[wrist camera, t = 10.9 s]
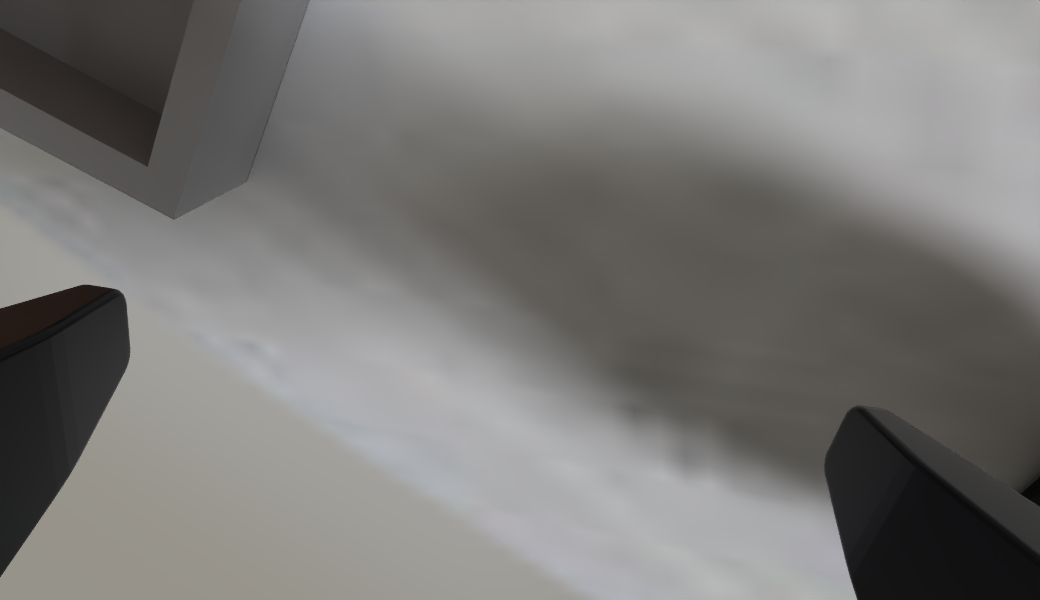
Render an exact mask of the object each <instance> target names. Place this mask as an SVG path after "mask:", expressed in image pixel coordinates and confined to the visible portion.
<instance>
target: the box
mask: <svg viewBox="0 0 1040 600" xmlns="http://www.w3.org/2000/svg"><path fill="white" fill-rule="evenodd" d="M308 2H309V0H0V128H2V129H4V130H6V131H8V132H10V133H12V134H13V135H15V136H17V137H19V138H21V139H23V140H25V141H27V142H29V143H30V144H32V145H34V146H36V147H38V148H40V149H42V150H44V151H46V152H47V153H49V154H51V155H53V156H55V157H57V158H59V159H61V160H63V161H64V162H66V163H68V164H70V165H72V166H74V167H76V168H78V169H80V170H81V171H83V172H85V173H87V174H89V175H91V176H93V177H95V178H96V179H98V180H100V181H102V182H104V183H106V184H108V185H110V186H112V187H113V188H115V189H117V190H119V191H121V192H123V193H125V194H127V195H129V196H130V197H132V198H134V199H136V200H138V201H140V202H142V203H144V204H146V205H147V206H149V207H151V208H153V209H155V210H157V211H159V212H161V213H163V214H164V215H166V216H168V217H170V218H172V219H176V218H178V217H180V216H182V215H183V214H185V213H187V212H189V211H191V210H193V209H195V208H197V207H199V206H201V205H203V204H204V203H206V202H208V201H210V200H212V199H214V198H216V197H218V196H220V195H222V194H224V193H225V192H227V191H229V190H231V189H233V188H235V187H237V186H239V185H241V184H243V183H245V182H246V181H247V178H248V175H249V172H250V169H251V167H252V164H253V161H254V158H255V155H256V152H257V149H258V146H259V144H260V141H261V138H262V135H263V132H264V129H265V126H266V123H267V121H268V118H269V115H270V112H271V109H272V106H273V103H274V100H275V98H276V95H277V92H278V89H279V86H280V83H281V80H282V77H283V74H284V72H285V69H286V66H287V63H288V60H289V57H290V54H291V51H292V49H293V46H294V43H295V40H296V37H297V34H298V31H299V28H300V26H301V23H302V20H303V17H304V14H305V11H306V8H307V5H308Z"/></svg>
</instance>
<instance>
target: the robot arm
mask: <svg viewBox="0 0 1040 600" xmlns="http://www.w3.org/2000/svg"><path fill="white" fill-rule="evenodd" d="M129 358H130V341H129V328H128V316H127V305H126V300H125V297H124V295H123V294H122V293H121V292H120V291H119V290H117V289H112V288H106V287H100V286H93V285H80V286H77V287H73V288H70V289H66V290H63V291H59V292H56V293H53V294H49V295H46V296H42V297H39V298H36V299H32V300H29V301H25V302H22V303H18V304H15V305H11V306H8V307H5V308H1V309H0V577H1V575H2V574H3V572H4V571H5V570H6V568H7V566H8V565H9V564H10V562H11V561H12V559H13V558H14V556H15V555H16V554H17V552H18V551H19V549H20V548H21V546H22V545H23V543H24V542H25V540H26V539H27V537H28V536H29V535H30V533H31V532H32V530H33V529H34V527H35V526H36V524H37V523H38V521H39V520H40V519H41V517H42V515H43V514H44V513H45V511H46V510H47V508H48V507H49V505H50V504H51V503H52V501H53V499H54V498H55V497H56V495H57V494H58V492H59V491H60V489H61V487H62V486H63V485H64V483H65V482H66V480H67V479H68V477H69V475H70V474H71V472H72V470H73V469H74V467H75V465H76V463H77V461H78V459H79V458H80V456H81V454H82V452H83V450H84V448H85V447H86V445H87V443H88V441H89V439H90V437H91V435H92V433H93V431H94V430H95V428H96V426H97V424H98V422H99V420H100V418H101V416H102V414H103V412H104V410H105V409H106V407H107V405H108V403H109V401H110V399H111V397H112V395H113V393H114V391H115V390H116V388H117V386H118V384H119V382H120V380H121V378H122V376H123V374H124V372H125V370H126V368H127V365H128V362H129ZM824 469H825V476H826V481H827V485H828V489H829V493H830V497H831V501H832V506H833V510H834V514H835V518H836V522H837V526H838V531H839V535H840V539H841V543H842V547H843V552H844V556H845V560H846V564H847V567H848V571H849V575H850V578H851V582H852V585H853V588H854V591H855V594H856V597H857V600H1040V478H1039V479H1037V480H1036V481H1035V482H1034V483H1033V484H1032V485H1031V486H1030V487H1029V488H1027V489H1026V490H1025V491H1024V492H1023V493H1022V494H1019V493H1017V492H1016V491H1014V490H1013V489H1011V488H1010V487H1008V486H1006V485H1005V484H1003V483H1002V482H1000V481H999V480H997V479H995V478H994V477H992V476H991V475H989V474H988V473H986V472H984V471H983V470H981V469H980V468H978V467H976V466H975V465H973V464H972V463H970V462H969V461H967V460H965V459H964V458H962V457H961V456H959V455H958V454H956V453H954V452H953V451H951V450H950V449H948V448H947V447H945V446H943V445H942V444H940V443H939V442H937V441H936V440H934V439H932V438H931V437H929V436H928V435H926V434H924V433H923V432H921V431H920V430H918V429H917V428H915V427H913V426H912V425H910V424H909V423H907V422H906V421H904V420H902V419H901V418H899V417H898V416H896V415H895V414H893V413H891V412H890V411H888V410H884V409H880V408H873V407H867V406H855V407H853V408H851V409H850V410H849V411H848V412H847V414H846V416H845V417H844V419H843V421H842V423H841V425H840V428H839V430H838V432H837V434H836V436H835V438H834V440H833V442H832V444H831V446H830V448H829V450H828V452H827V454H826V458H825V464H824Z"/></svg>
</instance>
